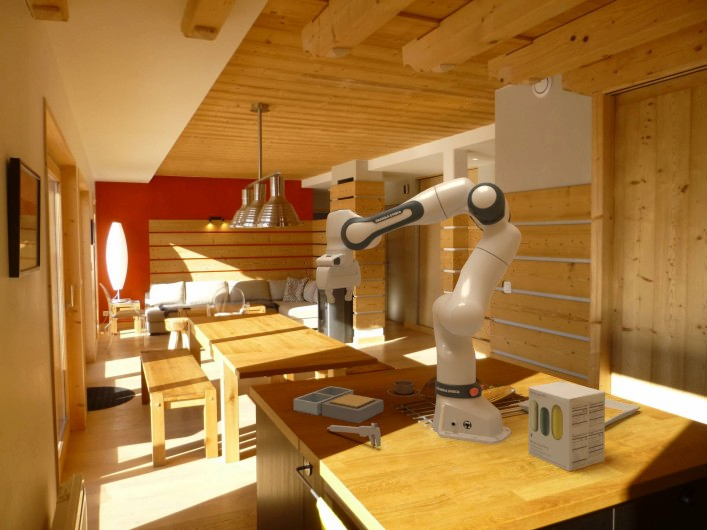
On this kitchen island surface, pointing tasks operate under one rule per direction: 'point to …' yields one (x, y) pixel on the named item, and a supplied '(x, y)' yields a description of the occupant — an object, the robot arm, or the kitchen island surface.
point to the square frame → (352, 411)
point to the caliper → (361, 432)
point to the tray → (318, 399)
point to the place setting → (403, 388)
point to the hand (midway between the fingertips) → (339, 301)
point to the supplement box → (566, 424)
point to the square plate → (609, 403)
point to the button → (353, 401)
